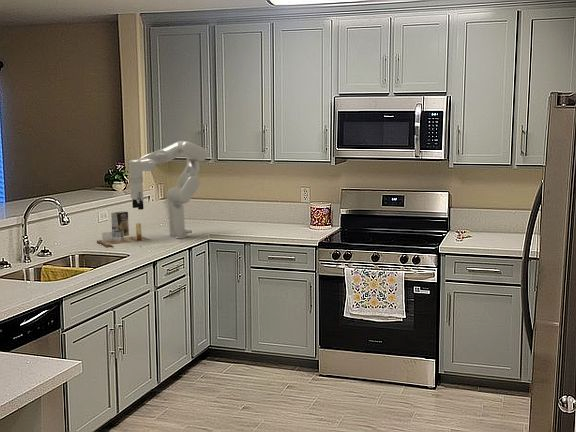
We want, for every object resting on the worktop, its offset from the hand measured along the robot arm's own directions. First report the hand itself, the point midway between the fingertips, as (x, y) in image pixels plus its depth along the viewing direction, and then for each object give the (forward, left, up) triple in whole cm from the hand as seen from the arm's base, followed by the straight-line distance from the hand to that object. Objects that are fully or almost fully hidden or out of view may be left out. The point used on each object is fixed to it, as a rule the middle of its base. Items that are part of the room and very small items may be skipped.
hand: (138, 208), depth 440 cm
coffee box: (+2, -28, -21) cm, 35 cm away
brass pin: (-1, -3, -20) cm, 20 cm away
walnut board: (+7, -7, -21) cm, 24 cm away
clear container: (+14, -10, -20) cm, 26 cm away
